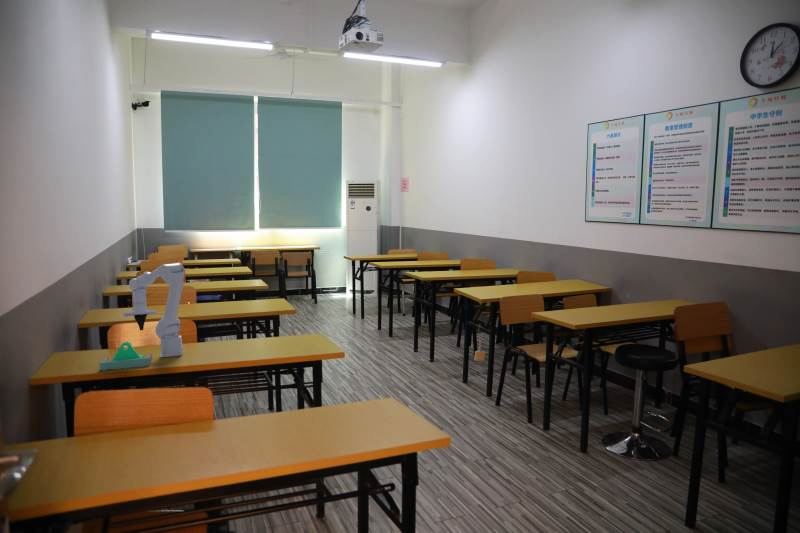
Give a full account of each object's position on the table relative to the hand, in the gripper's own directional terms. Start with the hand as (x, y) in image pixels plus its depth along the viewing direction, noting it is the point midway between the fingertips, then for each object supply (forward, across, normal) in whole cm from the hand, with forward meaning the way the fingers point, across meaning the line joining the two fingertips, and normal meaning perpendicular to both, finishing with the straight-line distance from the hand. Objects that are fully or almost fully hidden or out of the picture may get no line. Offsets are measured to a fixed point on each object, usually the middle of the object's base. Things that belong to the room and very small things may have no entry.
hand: (141, 329), depth 262 cm
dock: (+10, +4, +23) cm, 26 cm away
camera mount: (+11, +4, +22) cm, 25 cm away
